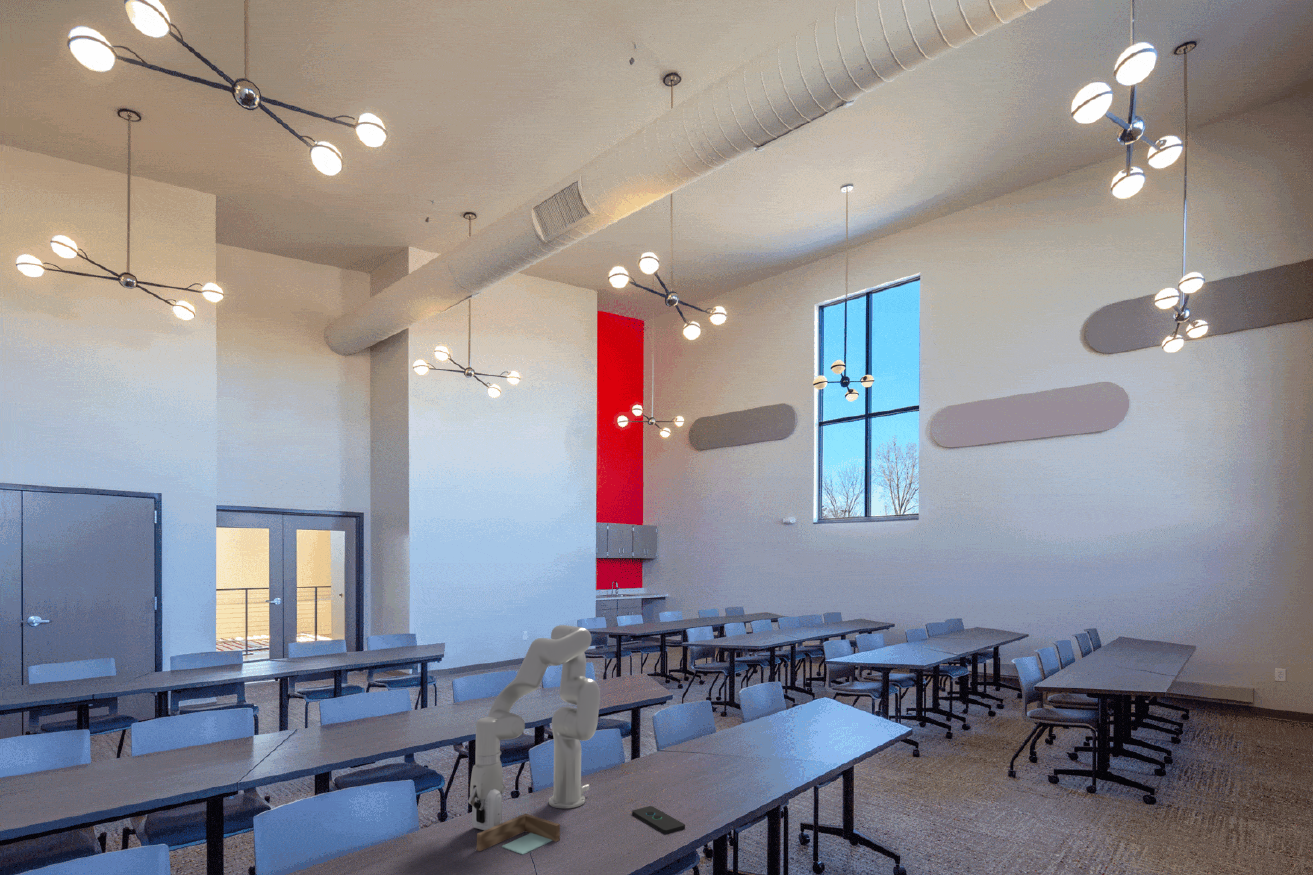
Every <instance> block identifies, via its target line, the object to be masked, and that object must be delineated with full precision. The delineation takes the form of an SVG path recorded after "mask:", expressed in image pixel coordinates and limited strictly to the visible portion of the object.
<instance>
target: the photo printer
mask: <svg viewBox="0 0 1313 875" xmlns="http://www.w3.org/2000/svg"><path fill="white" fill-rule="evenodd" d="M475 801H476V798H475ZM479 804H480V801H479ZM471 806H472V807H471V808H472V809H471V810H472V813H471V814H472V815H471V826H472V827H473V828H475V829H479V830H482V831H485V830H487V829H490V828H492V827H495V826H497V825H499V824H502V823H503V794H501V793H500V792H499V791H498V790H496V789H493V790H491V791H490V792H489V793H488V795H487V798H486V799H485V801H484V806H483V809H484V810H485V822H484V823H479V822H477V821H476V809H475V807H474V806H473V805H471Z"/></svg>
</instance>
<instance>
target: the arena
mask: <svg viewBox="0 0 1313 875" xmlns="http://www.w3.org/2000/svg"><path fill="white" fill-rule="evenodd" d="M524 832H527V833H528V834H530V833H534V834H537V835H540V836H542V837H545V838H548V839H551V840H552V842H556V843H557V842H559V841H560V840H561V823H557V822H555V821H551V820H547V819H544V818H541V817H539V816H534V815H532V814H528V813H523V814H521V815H519V816H516V817H514V818H512V819H509V820H507V821H505V822H502V824H499V825H497V826H495V827H492V828H490V829H487V830H482V831H480V832H478V833H476V851H477V852H482V851H484V850H486V849H488V848H491V847H492V846H495V845H498V844H499V843H502V842H504V841H507V840H508V839H511V838H513V837H516V836H517V835H520V834H522V833H524Z"/></svg>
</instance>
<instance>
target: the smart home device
mask: <svg viewBox="0 0 1313 875" xmlns="http://www.w3.org/2000/svg"><path fill="white" fill-rule="evenodd" d="M631 815H633V816H634V817H635V818H637V819H639V820H641V821H642V822H643V823H646V824H647V825H648V826H650V827H652V828H654V829H655V830H657V831H658V832H660V833H662V834H663V835H669V834H672V833H675V832H679V831H683V830H685V829H686V824H685V823H683V822H682V821H680V820H678V819H676V818H674V817H672V816H670V814H667V813H666V812H663V811H661V810H660V809H658V808H656V807H655V806H652V805H649V806H643V807H641V808H637V809H634V810H633V809H632V811H631Z"/></svg>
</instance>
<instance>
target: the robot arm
mask: <svg viewBox="0 0 1313 875" xmlns="http://www.w3.org/2000/svg"><path fill="white" fill-rule="evenodd" d="M591 634H592V633H591V632H590V631H589V630H588V629H587V628H584V627H581V626H573V625H565V624H560V625H556V626H554V627H553V628H552V630H551V632H550V638H547V637H545V638H544V637H538V638H536V639H534V640H533V641H532V642H531V644H529V647H528V649H527V652H526V654H525V656H524V659H523V660H522V663H521V664H520V667H519V669H518V672H517V674H516V676H515V678H513V680H511V682H509V683H508V684H507V685H506V686H505V687H504V688H503V689H502V690H501V691H500V692H499V694H498V695H497V696H496V698H495V699H494V701H493V703H492V706H491V707H490V709H489V712H488V715H487V716H485V717H481V718H479V719H478V720H477V721H476V723H475V764H474V765H472V769H471V770H472V771H471V775H470V776H471V778H470V786H469V798H468V801H467V803H468V804H469V805H471V806H472V805H473V806H474V807H475V809H476V821H477V822H479V823H484V822H485V810H484V809H483V806H484V801H485V799H486V798H487V795H488V793H489V792H490V791H491V790H493V789H496V790H498V791H499V792H500V793H501V794H502V795H503V794H504V793H505V791H506V789H507V788H506V785H505V784H504V775H503V773H504V772H503V767H502V765H503V764H502V761H501V758H500V757H501V755H502V751H501V749H500V747H501V744H500V743H501V742H500V741H502V740H503V741H504V740H513V739H516V738H519V737H520V736H521V735H522V734H523V733H524V731H525V728H526V723H525V720H524V719H523V717H522V716H520V715H518V714H516V713H512V712H511V709H512V708H513V706H514V705H515V703H516V702H517V701H518V700H520V698H522V697H524V696H526V695H529V694H530V693H532V692H535V691H536V690H538V689H539V687H540V685H541V683H542V681H543V679H544V675H545V674H546V671H547V669H548V667H549V666H553V667H555V666H561V665H562V666H561V668H562V669H561V674H560V685H559V697H560V699H561V700H562V701H563V702H565V703H567V704H571V705H574V706H576V708H575V707H571V706H562V707H560V708H558V709H557V710H555V711H554V713H553V715H552V718H551V731H552V736H553V795H552V796H550V797H549V798H548V804H549V806H551V807H552V808H556V809H573V808H578V807H580V806H583V805H584V804H585V802H586V796H584V795H583V794H584V792H586V791H589V790H590V784H587V783H586V784H583V785H582V745H581V742H582V741H583V742H586V741H589V740H590V739H592V738H594V735H595V733H596V731H597V727H598V721H599V713H600V712H599V710H600V705H601V704H600V703H601V689H600V686H599V684H598V682H597V681H596V680H594V679H593V678H589V677H586V672H587V670H586V669H587V657H586V653H585V652H586V651H587V650H588V649H589V647H590V646H591V645H592V639H593V638H592V635H591ZM475 798H476V801H475ZM479 801H480V804H479Z"/></svg>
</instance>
